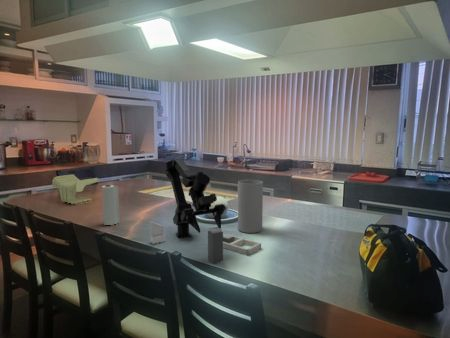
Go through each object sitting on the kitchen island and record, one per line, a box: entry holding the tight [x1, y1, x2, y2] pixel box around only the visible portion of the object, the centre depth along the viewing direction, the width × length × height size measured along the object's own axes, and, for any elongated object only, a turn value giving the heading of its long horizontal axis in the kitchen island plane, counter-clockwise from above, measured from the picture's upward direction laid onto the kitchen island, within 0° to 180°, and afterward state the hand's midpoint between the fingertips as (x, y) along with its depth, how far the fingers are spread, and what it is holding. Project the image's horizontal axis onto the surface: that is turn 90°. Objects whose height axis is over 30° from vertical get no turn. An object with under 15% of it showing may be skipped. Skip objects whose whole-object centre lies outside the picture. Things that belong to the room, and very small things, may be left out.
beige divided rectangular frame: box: [223, 233, 262, 256], centre depth 138 cm, size 20×10×3 cm, turn 51°
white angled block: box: [149, 220, 166, 245], centre depth 144 cm, size 4×10×9 cm, turn 126°
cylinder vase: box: [237, 179, 264, 234], centre depth 159 cm, size 12×12×25 cm
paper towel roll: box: [101, 184, 121, 226], centre depth 168 cm, size 7×6×21 cm
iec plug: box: [207, 226, 224, 265], centre depth 123 cm, size 4×4×13 cm
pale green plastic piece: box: [52, 173, 99, 205], centre depth 220 cm, size 30×16×18 cm, turn 56°
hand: (210, 230), depth 126 cm, fingers open, 9 cm apart
